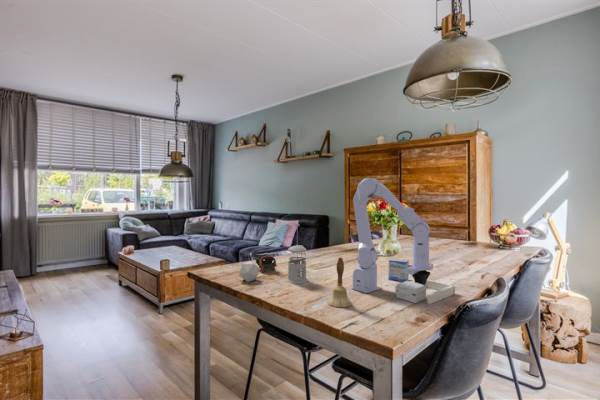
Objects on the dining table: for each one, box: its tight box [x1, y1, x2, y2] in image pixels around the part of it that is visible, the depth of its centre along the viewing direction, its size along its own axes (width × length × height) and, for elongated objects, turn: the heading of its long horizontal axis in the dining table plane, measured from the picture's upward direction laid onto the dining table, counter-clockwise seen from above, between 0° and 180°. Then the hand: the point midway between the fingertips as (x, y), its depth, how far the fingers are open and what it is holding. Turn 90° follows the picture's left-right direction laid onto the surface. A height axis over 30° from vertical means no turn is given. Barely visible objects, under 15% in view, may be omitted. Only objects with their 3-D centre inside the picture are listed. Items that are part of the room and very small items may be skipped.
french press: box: [285, 222, 309, 285], centre depth 143 cm, size 10×12×25 cm
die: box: [238, 261, 260, 283], centre depth 143 cm, size 8×9×10 cm
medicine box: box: [387, 258, 410, 282], centre depth 144 cm, size 8×4×9 cm, turn 62°
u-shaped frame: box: [394, 279, 456, 305], centre depth 125 cm, size 18×14×3 cm
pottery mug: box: [255, 255, 278, 274], centre depth 160 cm, size 12×10×8 cm
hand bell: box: [327, 257, 353, 308], centre depth 114 cm, size 8×8×16 cm
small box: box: [395, 280, 427, 304], centre depth 119 cm, size 8×8×5 cm
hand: (420, 290), depth 122 cm, fingers closed
